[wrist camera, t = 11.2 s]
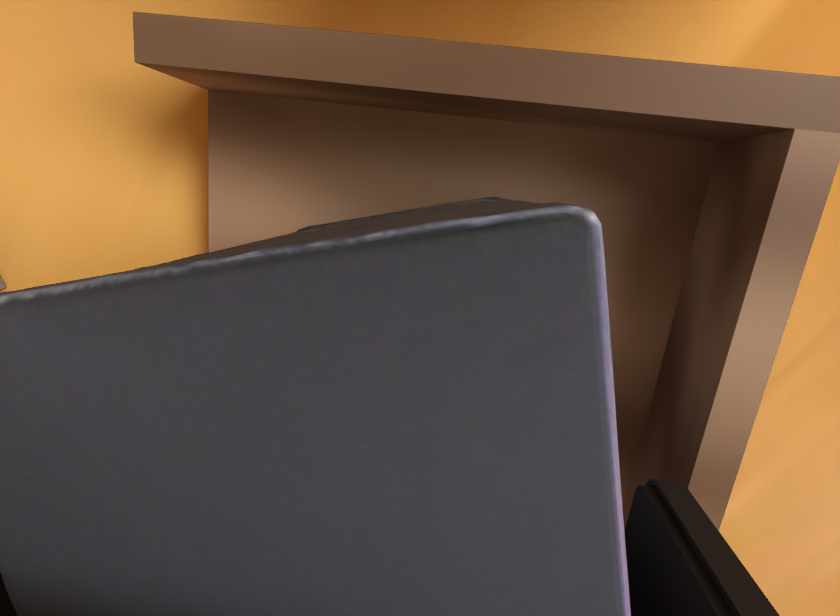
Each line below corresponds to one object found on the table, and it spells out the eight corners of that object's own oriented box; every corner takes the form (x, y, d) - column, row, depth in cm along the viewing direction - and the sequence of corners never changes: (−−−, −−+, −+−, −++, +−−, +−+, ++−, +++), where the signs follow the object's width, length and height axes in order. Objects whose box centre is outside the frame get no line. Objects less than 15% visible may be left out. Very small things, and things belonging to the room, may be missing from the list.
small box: (552, 515, 15) (705, 1130, 5) (362, 528, 16) (184, 1075, 6) (513, 188, 13) (657, 184, 3) (293, 225, 14) (-169, 321, 4)
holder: (225, 60, 14) (132, 12, 10) (748, 112, 13) (865, 79, 9) (223, 556, 19) (158, 652, 15) (608, 627, 17) (646, 751, 14)
